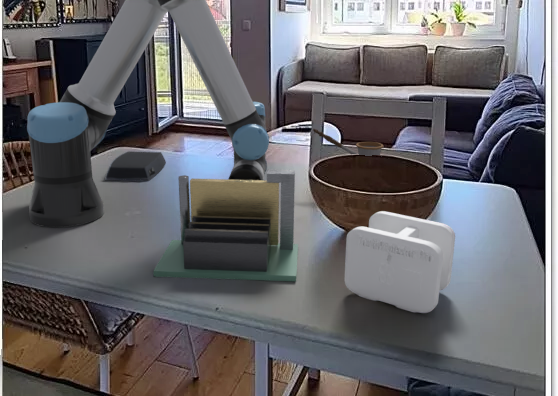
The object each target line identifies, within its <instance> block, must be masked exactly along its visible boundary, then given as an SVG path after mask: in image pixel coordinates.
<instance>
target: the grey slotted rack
mask: <svg viewBox="0 0 558 396" xmlns="http://www.w3.org/2000/svg"><path fill="white" fill-rule="evenodd" d="M295 171H296V170H290V169H275V168H273V169H271V168H268V169H267V170H266V181H267V182H272V183H279V184H280V206H279V214H280V215H279V223H280V224H279V226H280V227H279V243H280V250H293V244H294V239H295V238H294V236H295V235H294V234H295V233H294V231H295V230H294V229H295V227H294V226H295V189H296V188H295V187H296V186H295V185H296V172H295ZM178 196H179V197H178V199H179V220H180V222H179V223H180V240H181V244H182V245H183V250H184V269H194V270H223V271H253V272H267V268H268V262H269V256H270V251H271V218H259V217H225V216H192V222H191V201H190V180H189V175H178Z"/></svg>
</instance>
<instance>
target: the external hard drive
mask: <svg viewBox="0 0 558 396" xmlns="http://www.w3.org/2000/svg"><path fill="white" fill-rule="evenodd" d="M166 164H167V161H166V159H165V157H164V155H163V153H162V152H161V151H158V152H157V151H153V152H152V151H129V150H128V151H125V152H123V153H121V154H120V155H118V156H117V157H115V158H114V159H113V160H112V161H111V163H110V164H109V167H108V168H107V171H106V174H105V178H104V180H106V181H131V180H133V181H134V182H135V180H136V181H138V182H139V181H142V182H149V181H151V180H153V179H154V178H155V177H156V176H157V175H159V174H160V172H161V171H162V170H163V169H164V168H165V166H166Z"/></svg>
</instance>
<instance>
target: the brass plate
mask: <svg viewBox="0 0 558 396" xmlns="http://www.w3.org/2000/svg"><path fill="white" fill-rule="evenodd" d="M189 198H190V222H192V216H225V217H259V218H271V245H276V246H278V243H279V242H280V227H279V226H280V224H279V223H280V215H279V214H280V183H272V182H267V179H266V180H229V178H228V179H226V178H225V179H224V178H222V179H221V178H190V180H189Z"/></svg>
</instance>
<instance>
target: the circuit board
mask: <svg viewBox="0 0 558 396" xmlns="http://www.w3.org/2000/svg"><path fill="white" fill-rule="evenodd" d="M298 255H299V243H293V250H280V242H278V246H276V245H271V251H270V256H269V262H268V268H267V272H253V271H223V270H194V269H184V250H183V245H182V244H181V239H172V240H171V241H170V243H169V245H168V246H167V248H166V249H165V251H164V253H163V254H162V256H161V257H160V259H159V261H158V263H157V264H156V266H155V268H154V270H153V277H157V278H159V277H160V278H162V277H163V278H184V279H185V278H186V279H187V278H188V279H189V278H190V279H214V280H215V279H217V280H218V279H219V280H244V281H245V280H247V281H248V280H249V281H269V282H270V281H272V282H273V281H274V282H297V277H298V276H297V273H298V258H299V257H298Z"/></svg>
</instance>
